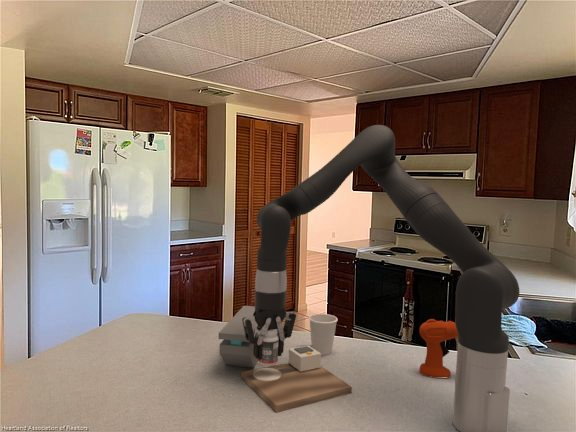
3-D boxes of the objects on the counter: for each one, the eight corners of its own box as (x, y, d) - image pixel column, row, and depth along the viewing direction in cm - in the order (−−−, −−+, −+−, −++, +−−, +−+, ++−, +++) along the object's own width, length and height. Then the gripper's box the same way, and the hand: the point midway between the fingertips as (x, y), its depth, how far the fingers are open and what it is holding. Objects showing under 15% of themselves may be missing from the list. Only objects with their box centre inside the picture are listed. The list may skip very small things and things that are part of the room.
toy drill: (499, 379, 109) (495, 320, 108) (421, 379, 112) (417, 322, 111) (493, 370, 114) (489, 314, 113) (418, 371, 117) (414, 317, 116)
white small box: (320, 367, 111) (321, 352, 111) (300, 371, 108) (301, 355, 108) (307, 358, 116) (308, 344, 116) (288, 362, 113) (289, 347, 113)
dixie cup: (336, 347, 130) (337, 314, 129) (336, 358, 122) (337, 323, 121) (308, 345, 131) (309, 312, 130) (306, 355, 123) (307, 321, 122)
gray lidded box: (248, 379, 107) (249, 335, 106) (217, 375, 108) (218, 332, 107) (267, 343, 131) (269, 307, 131) (242, 340, 132) (243, 305, 132)
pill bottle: (254, 362, 105) (255, 329, 104) (264, 356, 109) (265, 323, 109) (271, 367, 103) (272, 332, 102) (281, 360, 107) (282, 327, 106)
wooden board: (351, 392, 102) (351, 385, 101) (276, 412, 92) (276, 404, 91) (309, 363, 117) (309, 357, 117) (241, 377, 107) (241, 371, 107)
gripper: (288, 282, 111) (286, 347, 113) (237, 286, 104) (234, 356, 105) (304, 288, 105) (301, 357, 106) (250, 294, 98) (247, 368, 99)
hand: (268, 356), depth 106 cm, fingers closed on pill bottle, 4 cm apart
